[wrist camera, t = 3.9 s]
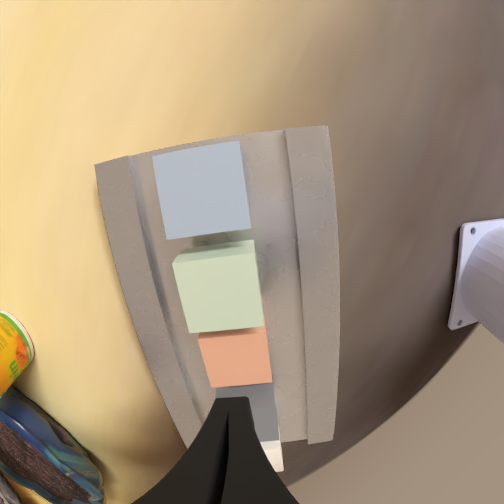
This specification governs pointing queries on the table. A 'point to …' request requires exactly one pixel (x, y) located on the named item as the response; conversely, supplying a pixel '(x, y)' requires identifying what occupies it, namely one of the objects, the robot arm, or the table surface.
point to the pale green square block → (219, 287)
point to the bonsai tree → (43, 456)
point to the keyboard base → (269, 270)
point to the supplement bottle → (13, 350)
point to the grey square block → (202, 190)
